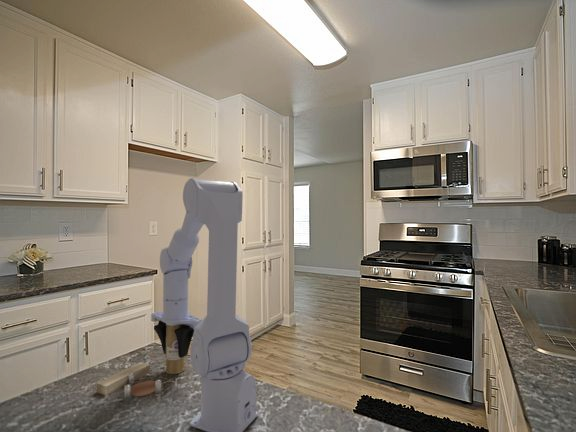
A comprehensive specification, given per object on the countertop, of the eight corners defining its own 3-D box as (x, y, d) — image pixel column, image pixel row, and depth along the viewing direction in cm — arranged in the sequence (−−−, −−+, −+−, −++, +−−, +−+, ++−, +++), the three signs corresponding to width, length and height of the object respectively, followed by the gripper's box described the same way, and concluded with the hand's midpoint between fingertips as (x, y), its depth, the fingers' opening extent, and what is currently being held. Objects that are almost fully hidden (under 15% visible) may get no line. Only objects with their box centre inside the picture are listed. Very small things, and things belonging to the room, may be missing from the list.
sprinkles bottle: (170, 377, 73) (170, 319, 73) (162, 370, 76) (162, 314, 76) (188, 370, 76) (189, 314, 76) (180, 364, 79) (180, 311, 79)
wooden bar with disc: (173, 379, 72) (174, 370, 72) (131, 405, 62) (131, 395, 62) (140, 370, 76) (140, 362, 76) (96, 392, 66) (96, 383, 66)
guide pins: (162, 392, 66) (162, 380, 66) (141, 405, 62) (141, 392, 62) (131, 382, 70) (131, 371, 70) (109, 394, 66) (109, 382, 66)
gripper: (210, 297, 77) (210, 353, 77) (166, 291, 83) (166, 343, 83) (190, 304, 70) (189, 365, 70) (144, 297, 77) (143, 353, 76)
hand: (175, 354), depth 76 cm, fingers closed on sprinkles bottle, 4 cm apart
